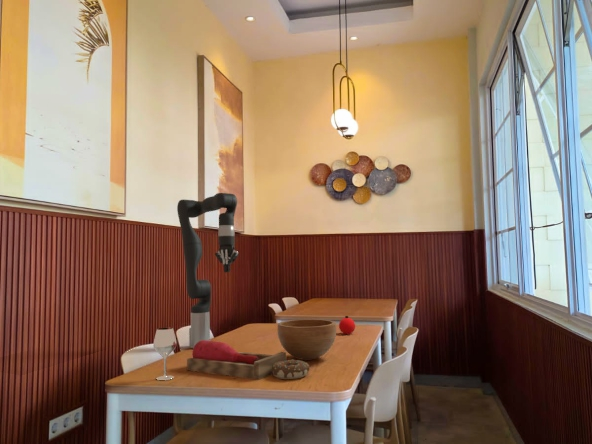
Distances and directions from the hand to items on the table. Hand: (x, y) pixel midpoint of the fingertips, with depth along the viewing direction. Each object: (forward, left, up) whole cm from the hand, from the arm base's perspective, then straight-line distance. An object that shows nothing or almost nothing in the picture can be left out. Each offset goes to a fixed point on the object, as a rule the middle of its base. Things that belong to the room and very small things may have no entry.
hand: (227, 272), depth 216 cm
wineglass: (+7, -46, -37) cm, 60 cm away
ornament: (+30, +68, -37) cm, 83 cm away
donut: (+47, -23, -37) cm, 65 cm away
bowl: (+40, +3, -37) cm, 55 cm away
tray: (+22, -24, -37) cm, 49 cm away
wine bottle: (+5, -25, -31) cm, 41 cm away
